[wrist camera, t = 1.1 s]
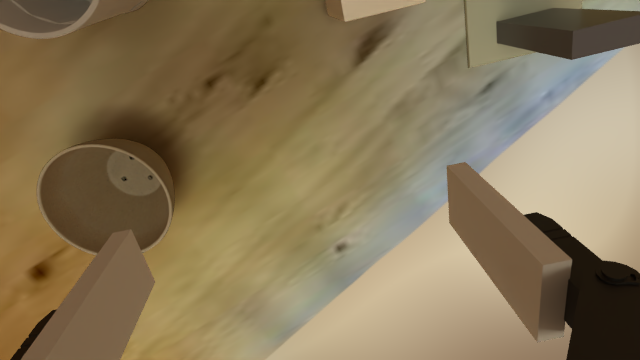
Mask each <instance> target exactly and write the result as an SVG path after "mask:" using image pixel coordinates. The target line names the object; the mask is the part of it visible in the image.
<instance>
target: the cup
mask: <svg viewBox="0 0 640 360" xmlns="http://www.w3.org/2000/svg"><path fill="white" fill-rule="evenodd" d="M147 1H148V0H0V29H2V30H4V31H7V32H9V33H12V34H15V35H18V36H22V37H27V38H35V39H49V38H56V37H60V36H64V35H66V34H69V33H72V32H74V31H77V30H79V29H82V28H84V27H87V26H89V25H92V24H95V23H97V22H100V21H103V20H106V19H109V18H111V17H114V16H117V15H120V14H123V13H129V12H132V11H135V10H137V9H139V8H140V7H142V6H143V5H144V4H145V3H146V2H147Z"/></svg>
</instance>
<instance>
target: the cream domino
mask: <svg viewBox="0 0 640 360" xmlns="http://www.w3.org/2000/svg"><path fill="white" fill-rule="evenodd" d="M325 2H326V7H327V13H328V15H329V16H331V17H334V18H336V19H339V20H341V21H344V22H347V21H351V20H355V19H359V18H363V17H367V16H371V15H375V14H379V13H384V12H388V11H392V10H396V9H400V8H404V7H408V6H412V5H416V4H420V3H424V2H425V0H325Z"/></svg>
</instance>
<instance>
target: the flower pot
mask: <svg viewBox="0 0 640 360" xmlns="http://www.w3.org/2000/svg"><path fill="white" fill-rule="evenodd" d="M130 156H131V157H132V159H131V158H130ZM149 175H151V176H152V177H151V176H149ZM125 178H127V180H124V179H125ZM37 201H38V205H39V208H40V211H41V213H42V215H43V217H44V219H45V220H46V222H47V223H48V224H49V226H50V227H51V228H52V229H53V230H54V231H55V232H56V233H57V235H59V236H60V237H61V238H62V239H63V240H65V241H66V242H67V243H69V244H71V245H72V246H74V247H76V248H78V249H80V250H82V251H84V252H87V253H90V254H93V255H97V254H98V253H99V251H100V250H101V248H102V247H103V246H104V244H105V243H106V242H107V240H108V239H109V237H110V236H111V235H112V233H115V232H120V231H125V230H130V229H131V230H132V232H133V234H134V236H135V239H136V241H137V243H138V245H139V247H140V250H141V252H142V253H144V252H146V251H148V250H150V249H151V248H153V247H154V246H155V245H157V244H158V243H159V242H160V241H161V240H162V239H163V237H164V236H165V234H166V233H167V231H168V229H169V227H170V224H171V220H172V216H173V211H174V203H175V192H174V185H173V180H172V177H171V174H170V171H169V169H168V167H167V165H166V164H165V162H164V161H163V159H162V158H161V157H160V156H159V155H158V154H157V153H156V152H155V151H153V150H152V149H150V148H149V147H147V146H145V145H143V144H141V143H138V142H134V141H130V140H125V139H100V140H93V141H89V142H85V143H81V144H78V145H75V146H72V147H70V148H67V149H65V150H63V151H61V152H59V153H58V154H56V155H55V156H53V157H52V158H51V159H50V160H49V161H48V162H47V163H46V164H45V166H44V167H43V169H42V171H41V173H40V176H39V179H38V182H37Z"/></svg>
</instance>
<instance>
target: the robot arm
mask: <svg viewBox="0 0 640 360" xmlns="http://www.w3.org/2000/svg"><path fill="white" fill-rule="evenodd" d="M447 181H448V202H449V221H450V222H449V223H450V224H451V226H452V227H453V228H454V229H455V231H456V232H457V234H458V235H459V236H460V238H461V239H462V241H463V242H464V243H465V245H466V246H467V247H468V249H469V250H470V251H471V253H472V254H473V256H474V257H475V258H476V260H477V261H478V262H479V264H480V265H481V266H482V268H483V269H484V270H485V272H486V273H487V275H488V276H489V277H490V279H491V280H492V281H493V283H494V284H495V285H496V287H497V288H498V289H499V291H500V292H501V294H502V295H503V296H504V298H505V299H506V300H507V302H508V303H509V305H510V306H511V307H512V309H513V310H514V311H515V313H516V314H517V315H518V317H519V318H520V319H521V321H522V322H523V324H524V325H525V326H526V328H527V329H528V330H529V332H530V333H531V334H532V336H533V337H534V338H535V340H536V341H537V342H541V341H546V340H550V339H556V338H561V337H564V327H565V321H566V322H567V324H568V325H569V326H570V327H571V328H572V333H571V338H570V343H569V349H568V354H567V359H566V360H640V273H638V272H637V271H636V270H635V269H633V268H631V267H629V266H627V265H624V264H620V263H617V262H611V261H602V260H601V259H600V258H598V257H597V256H596V255H595V254H594V253H593V252H591V251H590V250H589V249H588V248H587V247H585V246H584V245H583V244H582V243H580V242H579V241H578V240H577V239H576V238H574V237H572V236H571V234H569V233H568V232H567V231H566V230H565V229H564V230H563V228H562V227H561V226H560V225H559V224H557V223H556V222H555V221H554V220H553V219H551V218H549V217H546V216H544V215H542V214H539V213H537V212H536V213H531V214H526V215H523V214H522V213H520V212H519V211H518V210H517V209H516V208H515V207H514V206H513V205H512V204H511V203H510V202H508V201H507V200H506V199H505V198H504V197H503V196H502V195H500V193H499V192H497V191H496V190H495V189H494V188H493V187H492V186H491V185H489V184H488V182H486V181H485V180H484V179H483V178H482V177H481V176H480V175H479V174H478V173H477V172H475V171H474V170H473V169H472V168H471V167H470V166H469V165H468V164H467V163H466V162H463V163H459V164H454V165H449V166H447ZM154 283H155V280H154V278H153V276H152V274H151V272H150V269H149V267H148V265H147V263H146V261H145V258H144V256H143V254H142V252H141V250H140V247H139V245H138V243H137V241H136V239H135V236H134V234H133V232H132V230H131V229H130V230H125V231H120V232H115V233H112V235H111V236H110V237H109V239H108V240H107V242H106V243H105V244H104V246H103V247H102V248H101V250H100V251H99V253H98V254H97V255H96V257H95V258H94V259H93V261H92V262H91V264H90V265H89V266H88V268H87V269H86V270H85V272H84V273H83V275H82V276H81V277H80V279H79V280H78V281H77V283H76V284H75V286H74V287H73V288H72V290H71V291H70V292H69V294H68V295H67V297H66V298H65V299H64V301H63V302H62V303H61V305H60V306H59V308H58V309H57V310H52V311H51V312H50V313H49V314H48V315H47V316H45V317H44V318H43V319H42V320H41V321H40V322H39V323H38V324H37V325H36V326H35V328H34V329H33V330H32V332H31V333H30V334H29V338H26V340H25V341H24V342H23V344H22V345H21V348H20V349H18V350H17V352H16V353H15V354H14V355H13V357H12V358H11V359H10V360H120V358H121V356H122V354H123V352H124V350H125V347H126V345H127V343H128V341H129V339H130V336H131V334H132V332H133V330H134V327H135V325H136V323H137V321H138V319H139V316H140V314H141V312H142V310H143V308H144V305H145V303H146V301H147V299H148V297H149V294H150V292H151V290H152V288H153V286H154Z"/></svg>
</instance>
